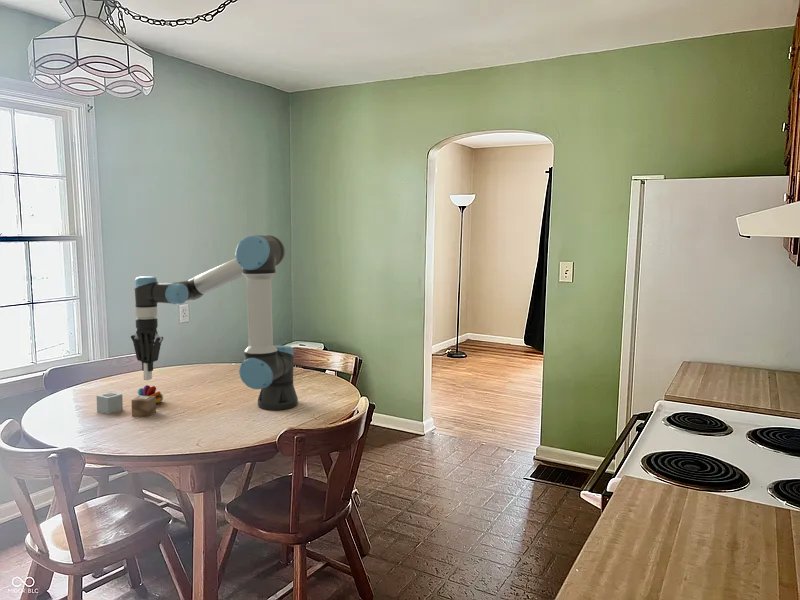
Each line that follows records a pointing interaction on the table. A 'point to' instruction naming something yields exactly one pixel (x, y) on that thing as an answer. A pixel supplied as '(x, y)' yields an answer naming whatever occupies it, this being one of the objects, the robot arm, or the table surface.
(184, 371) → the table surface
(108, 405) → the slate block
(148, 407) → the walnut block
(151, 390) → the rainbow segmented toy
